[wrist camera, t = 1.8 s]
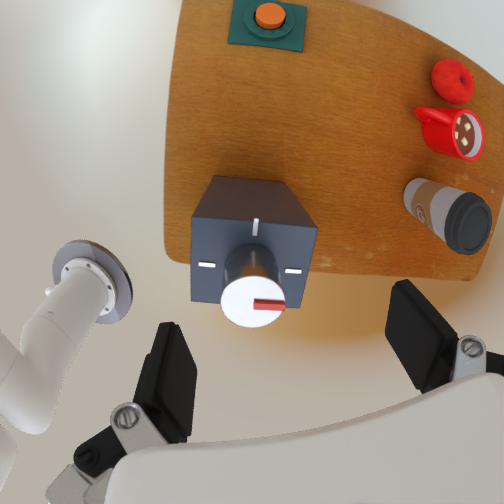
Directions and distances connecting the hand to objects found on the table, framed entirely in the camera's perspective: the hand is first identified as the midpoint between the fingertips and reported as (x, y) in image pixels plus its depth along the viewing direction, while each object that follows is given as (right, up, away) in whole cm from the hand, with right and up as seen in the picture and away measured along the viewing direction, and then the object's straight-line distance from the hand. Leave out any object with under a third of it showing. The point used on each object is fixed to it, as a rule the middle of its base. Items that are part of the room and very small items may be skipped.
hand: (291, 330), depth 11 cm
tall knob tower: (-2, +10, +28) cm, 30 cm away
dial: (-2, +2, +12) cm, 12 cm away
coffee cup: (+26, +13, +28) cm, 40 cm away
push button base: (0, +34, +16) cm, 38 cm away
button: (+1, +33, +14) cm, 36 cm away
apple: (+29, +31, +19) cm, 47 cm away
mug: (+27, +24, +23) cm, 43 cm away
